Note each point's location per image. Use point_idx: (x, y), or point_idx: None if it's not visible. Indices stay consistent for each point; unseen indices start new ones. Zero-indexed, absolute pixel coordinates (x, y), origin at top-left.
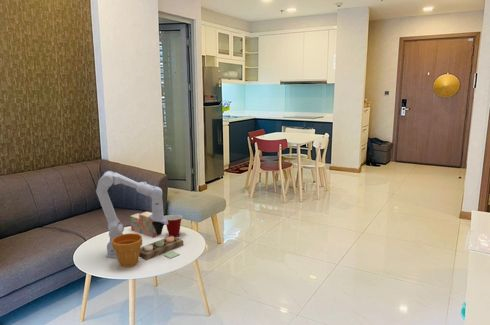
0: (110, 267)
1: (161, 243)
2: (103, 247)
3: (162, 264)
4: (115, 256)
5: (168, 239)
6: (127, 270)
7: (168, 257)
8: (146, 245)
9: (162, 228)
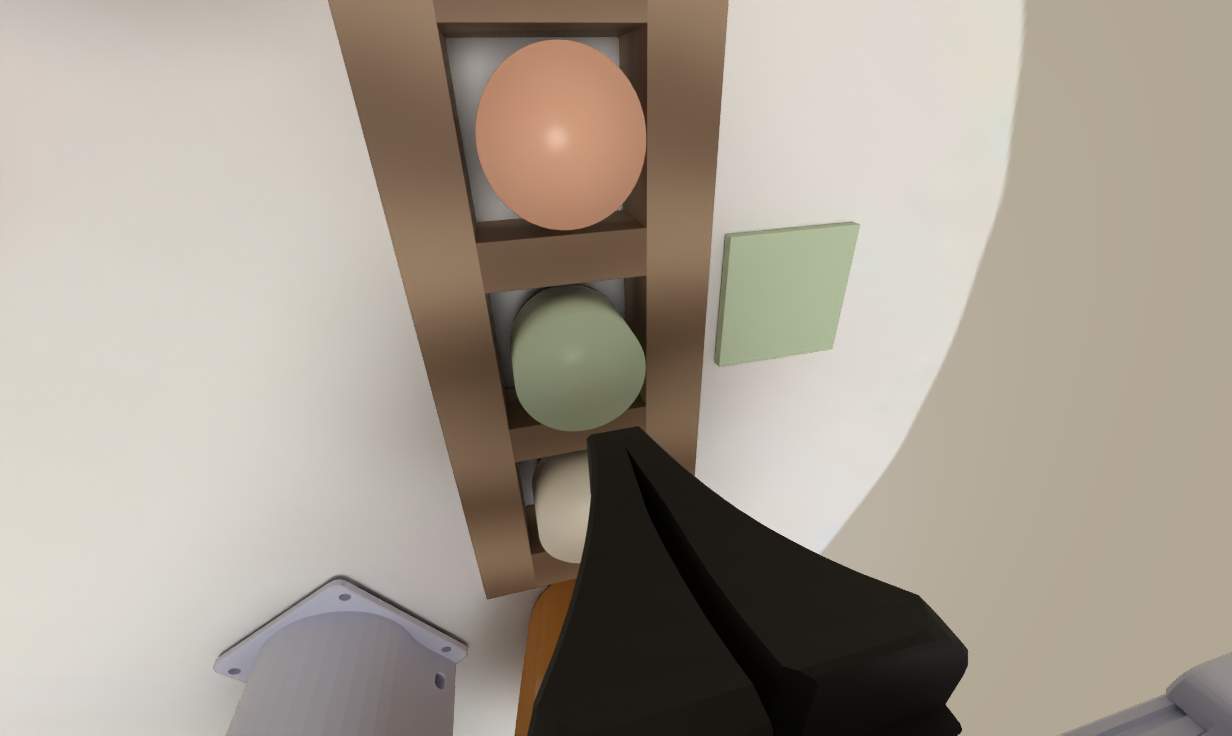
0: None
1: (643, 375)
2: (51, 731)
3: (831, 438)
4: (436, 683)
5: (597, 210)
6: None
7: (796, 351)
8: (550, 535)
9: (725, 504)
